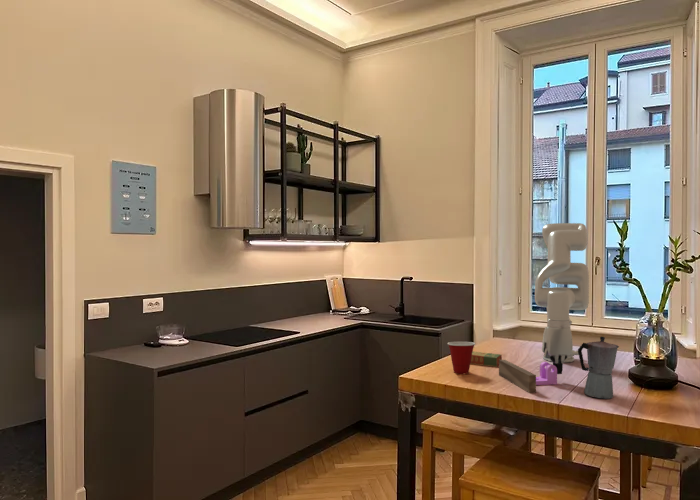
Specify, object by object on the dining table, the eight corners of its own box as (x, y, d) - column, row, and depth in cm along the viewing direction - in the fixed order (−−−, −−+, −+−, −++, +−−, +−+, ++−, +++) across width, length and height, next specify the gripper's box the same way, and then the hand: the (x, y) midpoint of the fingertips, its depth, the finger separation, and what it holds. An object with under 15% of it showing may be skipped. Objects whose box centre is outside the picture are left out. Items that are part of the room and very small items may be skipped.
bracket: (548, 380, 201) (549, 361, 201) (557, 384, 196) (557, 365, 196) (516, 381, 199) (516, 362, 199) (523, 385, 194) (523, 366, 193)
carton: (465, 359, 237) (465, 349, 237) (502, 363, 229) (502, 353, 229) (459, 363, 230) (459, 353, 230) (497, 367, 222) (497, 357, 222)
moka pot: (627, 398, 179) (628, 338, 178) (589, 402, 174) (589, 340, 174) (606, 390, 188) (607, 333, 187) (569, 393, 183) (569, 335, 183)
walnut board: (505, 374, 209) (505, 359, 208) (535, 392, 185) (536, 375, 185) (498, 375, 208) (499, 359, 208) (529, 392, 184) (529, 375, 184)
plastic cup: (468, 368, 219) (468, 339, 219) (479, 374, 209) (479, 344, 208) (443, 369, 217) (443, 339, 217) (452, 376, 207) (452, 345, 207)
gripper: (570, 321, 204) (570, 369, 204) (534, 323, 201) (533, 371, 201) (582, 325, 196) (582, 374, 197) (544, 326, 193) (544, 377, 194)
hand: (557, 373), depth 199 cm, fingers closed
